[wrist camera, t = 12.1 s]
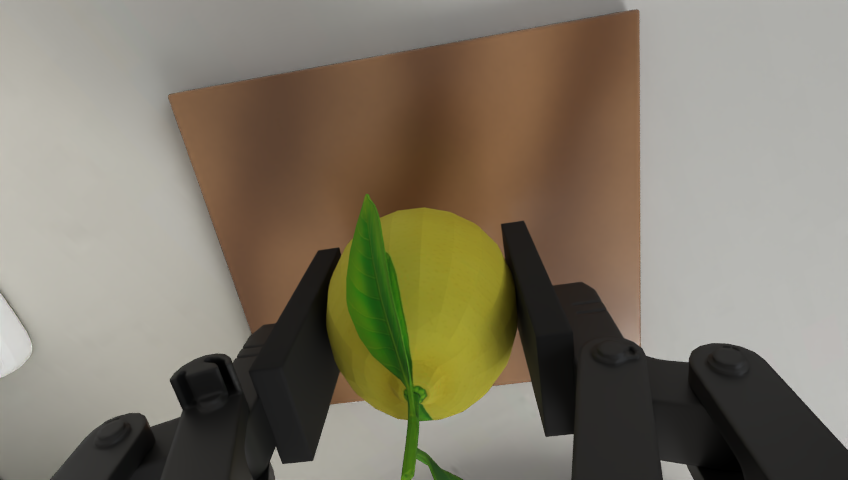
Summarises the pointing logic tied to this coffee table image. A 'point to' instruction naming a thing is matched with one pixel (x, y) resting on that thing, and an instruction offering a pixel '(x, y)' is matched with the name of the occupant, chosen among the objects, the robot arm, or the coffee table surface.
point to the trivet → (433, 158)
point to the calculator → (12, 340)
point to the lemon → (420, 317)
